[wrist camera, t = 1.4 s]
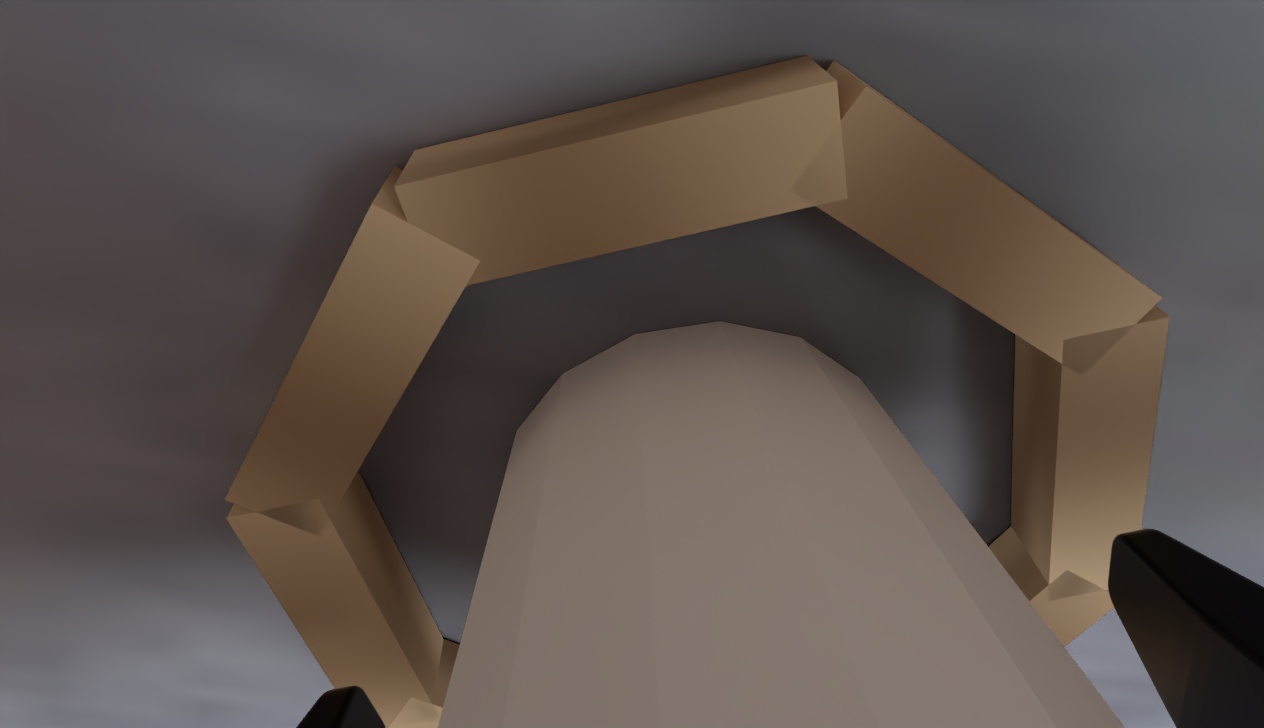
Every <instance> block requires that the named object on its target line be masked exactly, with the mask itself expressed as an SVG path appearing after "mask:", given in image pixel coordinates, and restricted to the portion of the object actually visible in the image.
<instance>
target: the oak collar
mask: <svg viewBox="0 0 1264 728" xmlns="http://www.w3.org/2000/svg"><path fill="white" fill-rule="evenodd" d="M813 206H816V207H817V208H819V209H821V210H822V211H824V212H825V213H827V214H828V215H830V216H831V217H833V218H835V219H836V220H838V221H839V222H841V223H842V224H844V225H846V226H847V227H849V228H850V229H852V230H853V231H855V232H856V233H858V234H860V235H861V236H863V237H864V238H866V239H867V240H869V241H871V242H872V243H874V244H875V245H877V246H878V247H880V248H881V249H883V250H885V251H886V252H888V253H889V254H891V255H892V256H894V257H896V258H897V259H899V260H900V261H902V262H903V263H905V264H906V265H908V266H910V267H911V268H913V269H914V270H916V271H917V272H919V273H920V274H922V275H924V276H925V277H927V278H928V279H930V280H931V281H933V282H935V283H936V284H938V285H939V286H941V287H942V288H944V289H945V290H947V291H949V292H950V293H952V294H953V295H955V296H956V297H958V298H960V299H961V300H963V301H964V302H966V303H967V304H969V305H970V306H972V307H974V308H975V309H977V310H978V311H980V312H981V313H983V314H985V315H986V316H988V317H989V318H991V319H992V320H994V321H995V322H997V323H999V324H1000V325H1002V326H1003V327H1005V328H1006V329H1008V330H1010V331H1011V332H1013V333H1014V334H1016V336H1015V377H1014V419H1013V460H1012V502H1011V527H1009V528H1008V529H1007V530H1006V531H1005V532H1004V533H1003V534H1002V535H1001V536H1000V537H998V538H997V539H996V540H995V541H994V542H993V543H992V544H991V545H990V546H988V547H989V549H990V550H991V551H992V553H993V554H994V555H995V557H996V558H997V559H998V561H999V562H1000V563H1001V565H1002V566H1003V567H1004V569H1005V570H1006V571H1007V572H1008V574H1009V575H1010V576H1011V578H1012V579H1013V580H1014V582H1015V583H1016V584H1017V586H1018V587H1019V588H1020V590H1021V591H1022V592H1023V594H1024V595H1025V596H1026V598H1027V599H1028V600H1029V602H1030V603H1031V604H1032V605H1033V607H1034V608H1035V609H1036V611H1037V612H1038V613H1039V615H1040V616H1041V617H1042V619H1043V620H1044V621H1045V623H1046V624H1047V625H1048V627H1049V628H1050V629H1051V631H1052V632H1053V633H1054V634H1055V636H1056V637H1057V638H1058V640H1059V641H1060V642H1061V644H1062V645H1063V646H1064V647H1065V646H1066V645H1067V644H1069V643H1070V642H1071V641H1072V640H1074V639H1075V638H1076V637H1077V636H1079V635H1080V634H1081V633H1082V632H1084V631H1085V630H1086V629H1088V628H1089V627H1090V626H1091V625H1093V624H1094V623H1095V622H1096V621H1098V620H1099V619H1100V618H1101V617H1103V616H1104V615H1105V614H1106V613H1108V612H1109V611H1110V610H1111V609H1113V608H1114V606H1113V604H1112V601H1111V598H1110V595H1109V591H1108V576H1109V567H1110V558H1111V549H1112V543H1113V540H1114V538H1115V537H1116V536H1117V535H1119V534H1122V533H1127V532H1132V531H1137V530H1141V528H1142V520H1143V513H1144V506H1145V498H1146V491H1147V483H1148V476H1149V469H1150V461H1151V454H1152V447H1153V439H1154V432H1155V424H1156V417H1157V410H1158V402H1159V395H1160V387H1161V380H1162V373H1163V365H1164V358H1165V351H1166V343H1167V336H1168V328H1169V321H1170V317H1169V316H1168V315H1167V314H1165V313H1164V312H1163V311H1162V310H1160V309H1159V308H1158V307H1156V306H1155V305H1156V304H1157V303H1158V302H1159V301H1160V300H1161V299H1162V297H1160V296H1159V295H1158V294H1156V293H1155V292H1154V291H1152V290H1151V289H1150V288H1148V287H1147V286H1146V285H1144V284H1143V283H1142V282H1140V281H1139V280H1138V279H1136V278H1135V277H1134V276H1132V275H1131V274H1130V273H1128V272H1127V271H1126V270H1124V269H1123V268H1122V267H1120V266H1119V265H1118V264H1116V263H1115V262H1114V261H1112V260H1111V259H1110V258H1108V257H1107V256H1106V255H1104V254H1103V253H1102V252H1100V251H1099V250H1097V249H1096V248H1095V247H1093V246H1092V245H1090V244H1089V243H1088V242H1086V241H1085V240H1084V239H1082V238H1081V237H1079V236H1078V235H1077V234H1075V233H1074V232H1072V231H1071V230H1070V229H1068V228H1067V227H1065V226H1064V225H1063V224H1061V223H1060V222H1058V221H1057V220H1056V219H1054V218H1053V217H1052V216H1050V215H1049V214H1047V213H1046V212H1045V211H1043V210H1042V209H1040V208H1039V207H1038V206H1036V205H1035V204H1033V203H1032V202H1031V201H1029V200H1028V199H1026V198H1025V197H1024V196H1022V195H1021V194H1020V193H1018V192H1017V191H1015V190H1014V189H1013V188H1011V187H1010V186H1008V185H1007V184H1006V183H1004V182H1003V181H1001V180H1000V179H999V178H997V177H996V176H994V175H993V174H992V173H990V172H989V171H988V170H986V169H985V168H983V167H982V166H981V165H979V164H978V163H976V162H975V161H974V160H972V159H971V158H969V157H968V156H967V155H965V154H964V153H962V152H961V151H960V150H958V149H957V148H956V147H954V146H953V145H951V144H950V143H949V142H947V141H946V140H944V139H943V138H942V137H940V136H939V135H937V134H936V133H935V132H933V131H932V130H930V129H929V128H928V127H926V126H925V125H924V124H922V123H921V122H919V121H918V120H917V119H915V118H914V117H912V116H911V115H910V114H908V113H907V112H905V111H904V110H903V109H901V108H900V107H898V106H897V105H896V104H894V103H893V102H892V101H890V100H889V99H887V98H886V97H885V96H883V95H882V94H880V93H879V92H878V91H876V90H875V89H873V88H872V87H871V86H869V85H868V84H866V83H865V82H864V81H862V80H861V79H860V78H858V77H857V76H855V75H854V74H853V73H851V72H850V71H848V70H847V69H846V68H844V67H843V66H841V65H840V64H839V63H837V62H836V61H834V60H833V62H832V63H831V65H830V66H829V67H828V69H827V70H826V71H825V70H824V69H823V68H822V67H820V66H819V65H818V64H817V63H816V62H815V61H813V60H812V59H811V58H810V57H809V56H808V55H807V56H803V57H798V58H794V59H790V60H786V61H782V62H778V63H774V64H769V65H765V66H761V67H757V68H753V69H749V70H745V71H740V72H736V73H732V74H728V75H724V76H720V77H716V78H711V79H707V80H703V81H699V82H695V83H691V84H687V85H682V86H678V87H674V88H670V89H666V90H662V91H657V92H653V93H649V94H645V95H641V96H637V97H633V98H629V99H624V100H620V101H616V102H612V103H608V104H604V105H599V106H595V107H591V108H587V109H583V110H579V111H575V112H571V113H566V114H562V115H558V116H554V117H550V118H546V119H541V120H537V121H533V122H529V123H525V124H521V125H517V126H512V127H508V128H504V129H500V130H496V131H492V132H488V133H483V134H479V135H475V136H471V137H467V138H463V139H459V140H454V141H450V142H446V143H442V144H438V145H434V146H430V147H425V148H421V149H417V150H414V152H413V154H412V155H411V157H410V159H409V161H408V163H407V164H406V166H405V168H404V170H402V169H400V168H398V167H396V166H394V167H393V169H392V171H391V172H390V174H389V176H388V177H387V179H386V181H385V182H384V184H383V186H382V187H381V189H380V191H379V192H378V194H377V196H376V197H375V199H374V201H373V202H372V204H371V206H370V208H369V210H368V212H367V214H366V216H365V218H364V220H363V222H362V224H361V226H360V228H359V230H358V232H357V234H356V236H355V238H354V240H353V242H352V244H351V246H350V248H349V250H348V252H347V254H346V256H345V258H344V260H343V262H342V264H341V266H340V268H339V270H338V272H337V274H336V276H335V278H334V280H333V282H332V284H331V286H330V288H329V290H328V292H327V294H326V296H325V298H324V300H323V302H322V304H321V306H320V308H319V310H318V313H317V315H316V317H315V319H314V321H313V323H312V325H311V327H310V329H309V331H308V333H307V335H306V337H305V339H304V341H303V343H302V345H301V347H300V349H299V351H298V353H297V355H296V357H295V359H294V361H293V363H292V365H291V367H290V369H289V371H288V373H287V375H286V377H285V379H284V381H283V383H282V385H281V387H280V389H279V391H278V393H277V395H276V397H275V399H274V401H273V403H272V405H271V407H270V409H269V411H268V413H267V415H266V417H265V419H264V421H263V423H262V425H261V427H260V429H259V431H258V433H257V435H256V437H255V439H254V441H253V443H252V445H251V447H250V449H249V451H248V453H247V455H246V457H245V459H244V461H243V463H242V465H241V467H240V469H239V471H238V473H237V475H236V477H235V479H234V481H233V483H232V485H231V487H230V489H229V491H228V493H227V495H226V497H225V499H224V500H226V501H228V502H231V503H233V504H234V505H233V506H232V508H231V510H230V512H229V514H228V516H227V518H226V519H227V521H228V522H229V524H230V525H231V527H232V529H233V530H234V532H235V533H236V535H237V536H238V538H239V539H240V541H241V543H242V544H243V546H244V547H245V549H246V550H247V552H248V554H249V555H250V557H251V558H252V560H253V561H254V563H255V564H256V566H257V568H258V569H259V571H260V572H261V574H262V575H263V577H264V579H265V580H266V582H267V583H268V585H269V586H270V588H271V589H272V591H273V593H274V594H275V596H276V597H277V599H278V600H279V602H280V604H281V605H282V607H283V608H284V610H285V611H286V613H287V614H288V616H289V618H290V619H291V621H292V622H293V624H294V625H295V627H296V628H297V630H298V632H299V633H300V635H301V636H302V638H303V639H304V641H305V643H306V644H307V646H308V647H309V649H310V650H311V652H312V653H313V655H314V657H315V658H316V660H317V661H318V663H319V664H320V666H321V668H322V669H323V671H324V672H325V674H326V675H327V677H328V678H329V680H330V682H331V683H332V685H333V686H334V688H335V689H338V688H343V687H348V686H359V687H360V688H362V689H363V690H364V692H365V693H366V695H367V696H368V698H369V700H370V701H371V703H372V704H373V706H374V708H375V709H376V711H377V713H378V714H379V716H380V717H381V719H382V721H383V722H384V724H385V727H386V728H438V724H439V720H440V717H441V713H442V709H443V705H444V702H445V698H446V694H447V690H448V687H449V683H450V679H451V675H452V672H453V668H454V664H455V660H456V657H457V653H458V649H459V644H456V643H453V642H450V641H448V640H445V639H443V637H442V635H441V633H440V631H439V629H438V627H437V625H436V623H435V621H434V619H433V617H432V615H431V613H430V611H429V609H428V607H427V605H426V603H425V601H424V599H423V597H422V596H421V594H420V592H419V590H418V588H417V586H416V584H415V582H414V580H413V578H412V576H411V574H410V572H409V570H408V568H407V566H406V564H405V562H404V560H403V558H402V556H401V554H400V552H399V550H398V548H397V546H396V544H395V542H394V540H393V538H392V536H391V535H390V533H389V531H388V529H387V527H386V525H385V523H384V521H383V519H382V517H381V515H380V513H379V511H378V509H377V507H376V505H375V503H374V501H373V499H372V497H371V495H370V493H369V491H368V489H367V487H366V485H365V483H364V481H363V479H362V477H361V475H360V474H359V472H358V470H359V468H360V466H361V465H362V463H363V461H364V459H365V458H366V456H367V454H368V453H369V451H370V449H371V447H372V446H373V444H374V442H375V441H376V439H377V437H378V435H379V434H380V432H381V430H382V429H383V427H384V425H385V423H386V422H387V420H388V418H389V417H390V415H391V413H392V411H393V410H394V408H395V406H396V405H397V403H398V401H399V399H400V398H401V396H402V394H403V393H404V391H405V389H406V387H407V386H408V384H409V382H410V381H411V379H412V377H413V376H414V374H415V372H416V370H417V369H418V367H419V365H420V364H421V362H422V360H423V358H424V357H425V355H426V353H427V352H428V350H429V348H430V346H431V345H432V343H433V341H434V340H435V338H436V336H437V334H438V333H439V331H440V329H441V328H442V326H443V324H444V322H445V321H446V319H447V317H448V316H449V314H450V312H451V310H452V309H453V307H454V305H455V304H456V302H457V300H458V298H459V297H460V295H461V293H462V292H463V290H464V288H465V286H468V285H472V284H476V283H481V282H485V281H489V280H494V279H498V278H503V277H507V276H511V275H516V274H520V273H524V272H529V271H533V270H537V269H542V268H546V267H551V266H555V265H559V264H564V263H568V262H572V261H577V260H581V259H586V258H590V257H594V256H599V255H603V254H607V253H612V252H616V251H621V250H625V249H629V248H634V247H638V246H642V245H647V244H651V243H656V242H660V241H664V240H669V239H673V238H677V237H682V236H686V235H690V234H695V233H699V232H704V231H708V230H712V229H717V228H721V227H725V226H730V225H734V224H739V223H743V222H747V221H752V220H756V219H760V218H765V217H769V216H774V215H778V214H782V213H787V212H791V211H795V210H800V209H804V208H808V207H813Z"/></svg>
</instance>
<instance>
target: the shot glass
mask: <svg viewBox="0 0 1264 728" xmlns="http://www.w3.org/2000/svg"><path fill="white" fill-rule="evenodd" d="M438 728H1125V727H1124V725H1123V724H1122V723H1121V721H1120V720H1119V719H1118V718H1117V716H1116V715H1115V714H1114V712H1113V711H1112V710H1111V708H1110V707H1109V706H1108V704H1107V703H1106V702H1105V700H1104V699H1103V698H1102V696H1101V695H1100V694H1099V692H1098V691H1097V690H1096V689H1095V687H1094V686H1093V685H1092V683H1091V682H1090V681H1089V679H1088V678H1087V677H1086V675H1085V674H1084V673H1083V671H1082V670H1081V669H1080V667H1079V666H1078V665H1077V663H1076V662H1075V661H1074V660H1073V658H1072V657H1071V656H1070V654H1069V653H1068V652H1067V650H1066V649H1065V648H1064V646H1063V645H1062V644H1061V642H1060V641H1059V640H1058V638H1057V637H1056V636H1055V634H1054V633H1053V632H1052V631H1051V629H1050V628H1049V627H1048V625H1047V624H1046V623H1045V621H1044V620H1043V619H1042V617H1041V616H1040V615H1039V613H1038V612H1037V611H1036V609H1035V608H1034V607H1033V605H1032V604H1031V603H1030V602H1029V600H1028V599H1027V598H1026V596H1025V595H1024V594H1023V592H1022V591H1021V590H1020V588H1019V587H1018V586H1017V584H1016V583H1015V582H1014V580H1013V579H1012V578H1011V576H1010V575H1009V574H1008V572H1007V571H1006V570H1005V569H1004V567H1003V566H1002V565H1001V563H1000V562H999V561H998V559H997V558H996V557H995V555H994V554H993V553H992V551H991V550H990V549H989V547H988V546H987V545H986V543H985V542H984V541H983V540H982V538H981V537H980V536H979V534H978V533H977V532H976V530H975V529H974V528H973V526H972V525H971V524H970V522H969V521H968V520H967V518H966V517H965V516H964V514H963V513H962V512H961V511H960V509H959V508H958V507H957V505H956V504H955V503H954V501H953V500H952V499H951V497H950V496H949V495H948V493H947V492H946V491H945V489H944V488H943V487H942V485H941V484H940V483H939V482H938V480H937V479H936V478H935V476H934V475H933V474H932V472H931V471H930V470H929V468H928V467H927V466H926V464H925V463H924V462H923V460H922V459H921V458H920V456H919V455H918V454H917V453H916V451H915V450H914V449H913V447H912V446H911V445H910V443H909V442H908V441H907V439H906V438H905V437H904V435H903V434H902V433H901V431H900V430H899V429H898V427H897V426H896V425H895V424H894V422H893V421H892V420H891V418H890V417H889V416H888V414H887V413H886V412H885V410H884V409H883V408H882V406H881V405H880V404H879V402H878V401H877V400H876V398H875V397H874V396H873V395H872V393H871V392H870V391H869V389H868V388H867V387H866V385H865V384H864V383H863V381H862V380H861V379H860V378H859V377H858V376H856V375H855V374H853V373H852V372H850V371H849V370H847V369H846V368H844V367H843V366H842V365H840V364H839V363H837V362H836V361H834V360H833V359H831V358H830V357H828V356H827V355H825V354H824V353H823V352H821V351H820V350H818V349H817V348H815V347H814V346H812V345H811V344H809V343H808V342H806V341H805V340H804V339H802V338H801V337H796V336H791V335H786V334H781V333H776V332H771V331H766V330H761V329H757V328H752V327H747V326H742V325H737V324H732V323H727V322H722V321H717V322H711V323H704V324H698V325H691V326H685V327H678V328H672V329H665V330H659V331H652V332H646V333H639V334H634V335H632V336H630V337H629V338H627V339H625V340H623V341H621V342H620V343H618V344H616V345H614V346H612V347H610V348H609V349H607V350H605V351H603V352H601V353H599V354H598V355H596V356H594V357H592V358H590V359H588V360H587V361H585V362H583V363H581V364H579V365H578V366H576V367H574V368H572V369H570V370H568V371H567V372H565V373H563V374H562V375H561V376H560V377H559V379H558V380H557V381H556V382H555V384H554V385H553V386H552V387H551V388H550V390H549V391H548V392H547V393H546V395H545V396H544V397H543V398H542V400H541V401H540V402H539V403H538V405H537V406H536V407H535V408H534V410H533V411H532V412H531V413H530V414H529V416H528V417H527V418H526V419H525V421H524V422H523V423H522V424H521V426H520V427H519V428H518V429H517V431H516V435H515V439H514V442H513V446H512V450H511V454H510V457H509V461H508V465H507V469H506V472H505V476H504V480H503V484H502V487H501V491H500V495H499V499H498V502H497V506H496V510H495V514H494V517H493V521H492V525H491V529H490V533H489V536H488V540H487V544H486V548H485V551H484V555H483V559H482V563H481V566H480V570H479V574H478V578H477V581H476V585H475V589H474V593H473V596H472V600H471V604H470V608H469V611H468V615H467V619H466V623H465V626H464V630H463V634H462V638H461V641H460V645H459V649H458V653H457V657H456V660H455V664H454V668H453V672H452V675H451V679H450V683H449V687H448V690H447V694H446V698H445V702H444V705H443V709H442V713H441V717H440V720H439V724H438Z"/></svg>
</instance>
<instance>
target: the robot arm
mask: <svg viewBox="0 0 1264 728" xmlns="http://www.w3.org/2000/svg"><path fill="white" fill-rule="evenodd" d="M1108 591H1109V595H1110V598H1111V601H1112V604H1113V606H1114V608H1115V610H1116V612H1117V614H1118V616H1119V618H1120V620H1121V621H1122V623H1123V625H1124V627H1125V629H1126V631H1127V633H1128V635H1129V637H1130V639H1131V641H1132V643H1133V645H1134V647H1135V649H1136V651H1137V653H1138V655H1139V657H1140V658H1141V660H1142V662H1143V664H1144V666H1145V668H1146V670H1147V672H1148V674H1149V676H1150V678H1151V680H1152V682H1153V684H1154V686H1155V688H1156V690H1157V692H1158V693H1159V695H1160V697H1161V699H1162V701H1163V703H1164V705H1165V707H1166V709H1167V711H1168V713H1169V715H1170V716H1171V718H1172V720H1173V722H1174V724H1175V726H1176V727H1177V728H1264V587H1262V586H1261V585H1259V584H1257V583H1255V582H1253V581H1251V580H1249V579H1248V578H1246V577H1244V576H1242V575H1240V574H1238V573H1236V572H1235V571H1233V570H1231V569H1229V568H1227V567H1225V566H1223V565H1222V564H1220V563H1218V562H1216V561H1214V560H1212V559H1211V558H1209V557H1207V556H1205V555H1203V554H1201V553H1199V552H1198V551H1196V550H1194V549H1192V548H1190V547H1188V546H1186V545H1185V544H1183V543H1181V542H1179V541H1177V540H1175V539H1173V538H1172V537H1170V536H1168V535H1166V534H1164V533H1162V532H1160V531H1158V530H1154V529H1142V530H1137V531H1132V532H1127V533H1122V534H1119V535H1117V536H1116V537H1115V538H1114V540H1113V543H1112V549H1111V558H1110V567H1109V576H1108ZM296 728H386V727H385V724H384V722H383V721H382V719H381V717H380V716H379V714H378V713H377V711H376V709H375V708H374V706H373V704H372V703H371V701H370V700H369V698H368V696H367V695H366V693H365V692H364V690H363V689H362V688H360V687H359V686H348V687H343V688H338V689H333V690H329V691H327V692H325V693H324V694H323V695H322V696H321V697H320V698H319V699H318V700H317V702H316V703H315V704H314V705H313V707H312V708H311V709H310V711H309V712H308V713H307V714H306V716H305V717H304V718H303V720H302V721H301V722H300V723H299V725H298V726H297V727H296Z"/></svg>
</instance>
